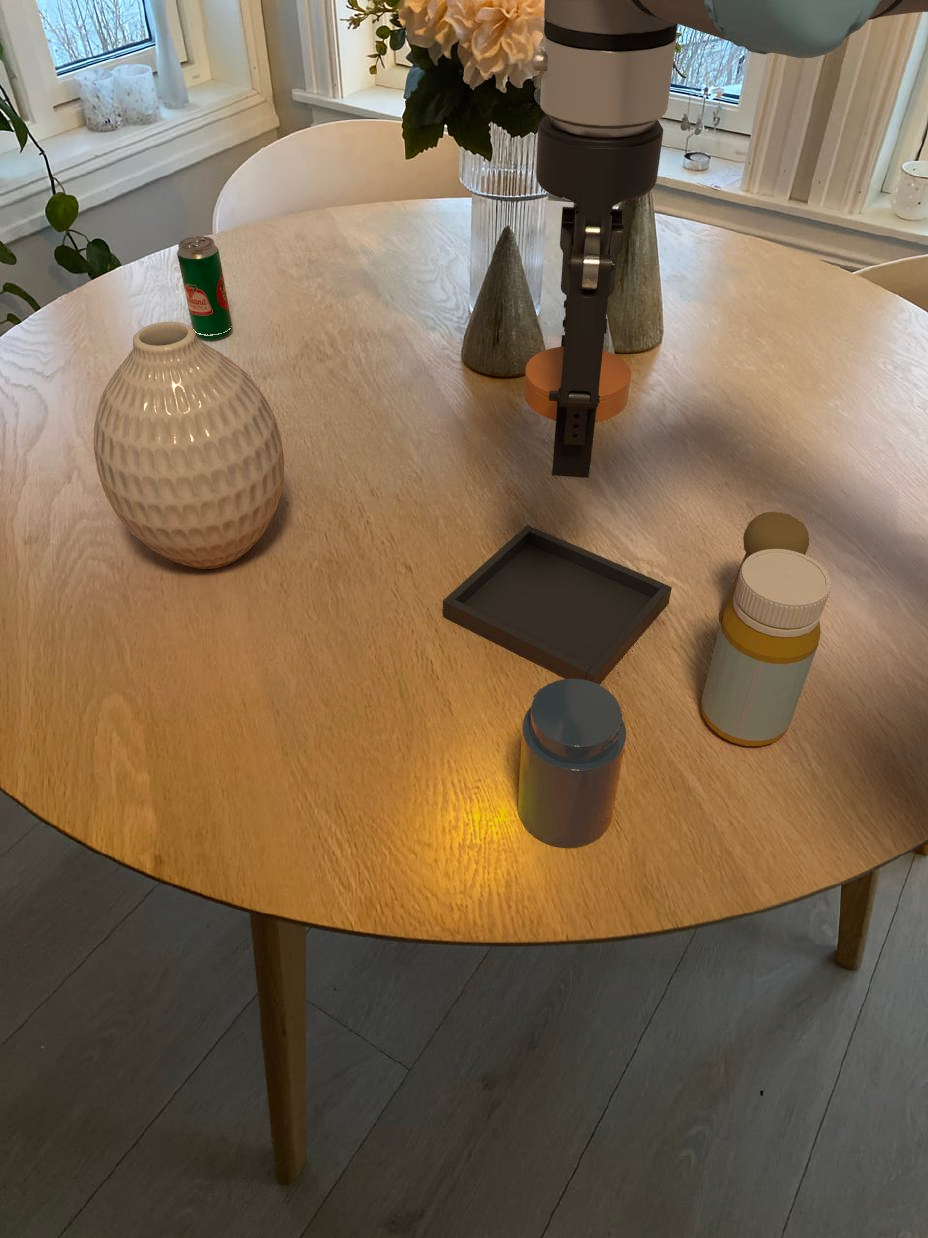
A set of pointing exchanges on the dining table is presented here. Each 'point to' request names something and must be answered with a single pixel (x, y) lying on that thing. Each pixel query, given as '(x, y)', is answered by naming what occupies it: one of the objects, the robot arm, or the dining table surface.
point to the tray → (558, 605)
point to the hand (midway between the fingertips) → (571, 442)
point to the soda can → (204, 287)
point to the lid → (547, 376)
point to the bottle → (765, 647)
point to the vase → (188, 449)
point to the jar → (570, 762)
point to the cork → (770, 540)
